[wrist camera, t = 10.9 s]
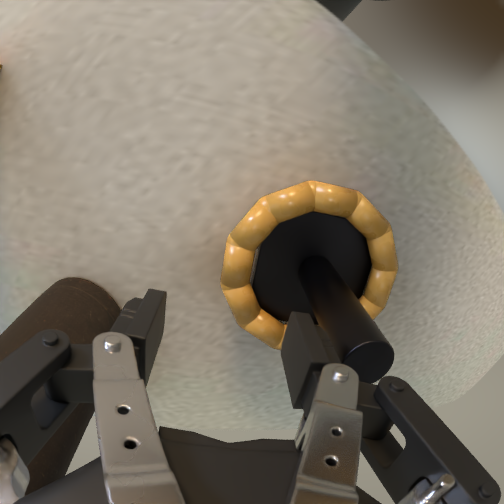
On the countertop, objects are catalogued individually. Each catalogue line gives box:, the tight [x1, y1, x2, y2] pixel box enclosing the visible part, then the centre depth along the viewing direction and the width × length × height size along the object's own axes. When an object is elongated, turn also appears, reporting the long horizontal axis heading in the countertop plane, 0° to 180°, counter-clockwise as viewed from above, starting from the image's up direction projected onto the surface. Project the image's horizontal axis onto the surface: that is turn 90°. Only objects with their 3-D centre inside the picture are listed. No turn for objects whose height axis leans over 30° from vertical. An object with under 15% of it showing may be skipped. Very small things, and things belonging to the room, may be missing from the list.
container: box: [0, 278, 121, 496], centre depth 13 cm, size 9×9×20 cm
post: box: [251, 211, 394, 384], centre depth 17 cm, size 8×8×11 cm
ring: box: [220, 181, 398, 350], centre depth 20 cm, size 12×12×2 cm
